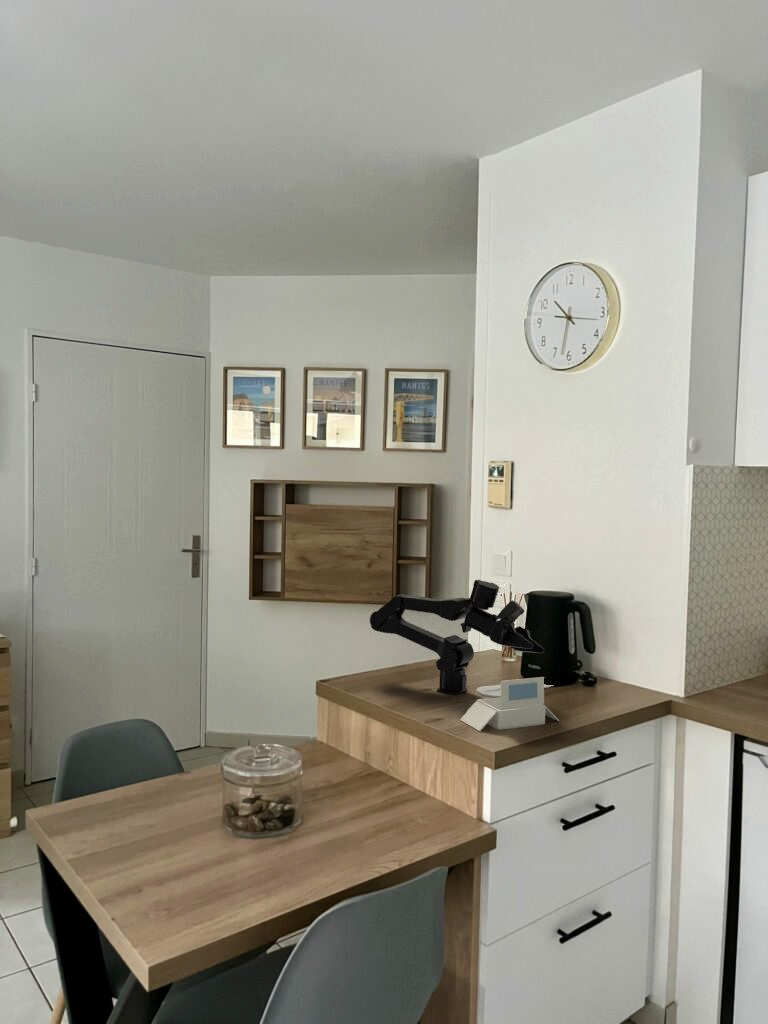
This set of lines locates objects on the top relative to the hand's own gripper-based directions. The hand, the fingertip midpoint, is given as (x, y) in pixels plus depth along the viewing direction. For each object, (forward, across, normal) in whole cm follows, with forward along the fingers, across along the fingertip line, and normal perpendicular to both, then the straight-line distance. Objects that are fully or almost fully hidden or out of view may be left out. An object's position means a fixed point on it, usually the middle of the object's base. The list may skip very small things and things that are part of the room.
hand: (538, 649), depth 199 cm
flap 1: (-1, -17, +20) cm, 26 cm away
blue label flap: (+6, -14, +10) cm, 18 cm away
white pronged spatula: (-7, +20, +13) cm, 25 cm away
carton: (+4, -9, +18) cm, 21 cm away
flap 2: (+8, -3, +13) cm, 15 cm away
